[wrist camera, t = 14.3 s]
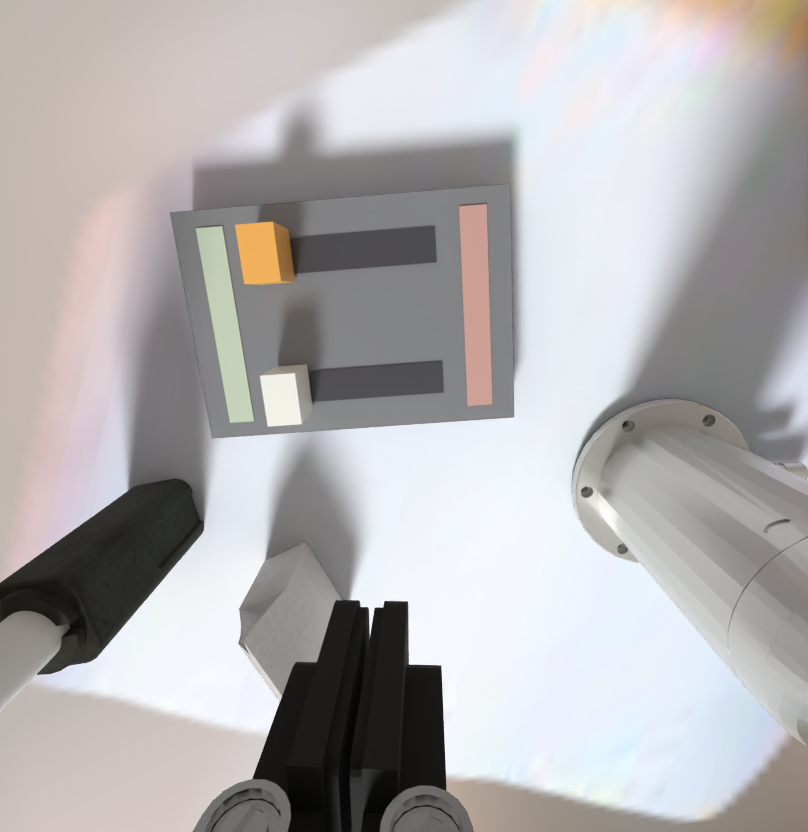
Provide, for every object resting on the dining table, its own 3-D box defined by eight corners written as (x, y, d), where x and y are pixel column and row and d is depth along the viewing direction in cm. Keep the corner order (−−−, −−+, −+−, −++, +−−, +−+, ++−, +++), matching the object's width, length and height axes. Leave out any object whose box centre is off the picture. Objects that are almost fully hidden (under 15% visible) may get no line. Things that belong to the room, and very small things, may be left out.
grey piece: (305, 541, 37) (269, 629, 27) (347, 607, 38) (327, 714, 29) (265, 559, 37) (215, 654, 28) (308, 625, 39) (274, 736, 29)
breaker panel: (500, 193, 30) (524, 168, 24) (505, 406, 34) (527, 433, 28) (192, 219, 31) (136, 201, 25) (228, 425, 34) (188, 456, 28)
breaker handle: (288, 229, 28) (272, 221, 25) (295, 282, 29) (280, 281, 25) (254, 232, 28) (234, 224, 25) (262, 284, 29) (244, 284, 26)
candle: (123, 488, 36) (-466, 897, 12) (187, 476, 36) (-282, 871, 11) (145, 547, 37) (-345, 1027, 13) (207, 536, 37) (-176, 1006, 13)
